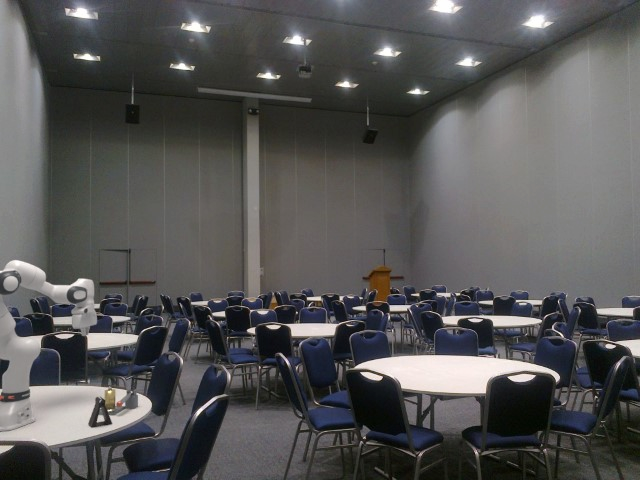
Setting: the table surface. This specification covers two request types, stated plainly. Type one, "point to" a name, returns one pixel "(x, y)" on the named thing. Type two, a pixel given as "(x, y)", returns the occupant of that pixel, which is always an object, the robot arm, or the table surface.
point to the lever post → (132, 400)
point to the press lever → (125, 399)
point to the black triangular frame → (95, 414)
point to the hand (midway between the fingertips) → (85, 335)
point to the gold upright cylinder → (110, 398)
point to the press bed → (114, 411)
